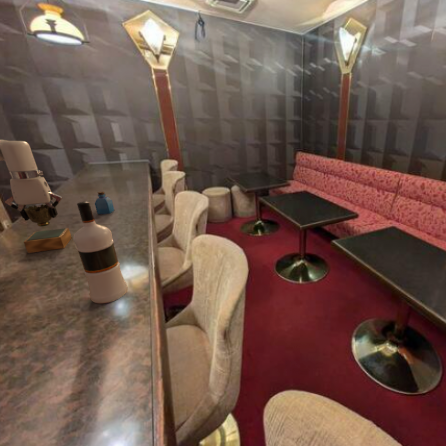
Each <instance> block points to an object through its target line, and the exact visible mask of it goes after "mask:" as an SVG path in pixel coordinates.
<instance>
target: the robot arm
mask: <svg viewBox="0 0 446 446" xmlns="http://www.w3.org/2000/svg"><path fill="white" fill-rule="evenodd" d="M2 161H4V162H5V164H6V167H7V170H8V172H9V175H10V177H11V178H10V179H9V183H10V184H9V185H10V190H11V195H12V196H10V197H9V198H7V199H6V200H5V201H4V203H5V204H6V205H8V206H10V207H11V208H13V209H15V210H17V211H18V212H19V213H20V215H21V218H22V219H24V221H25V222H27V221H29V220H30V219H29V217H28V215H27V214H26V212H25V210H24V209H26V208H27V206H28V205H29V206H30V205H43V204H44V205H48V206H49V207H50V209H49V211H50V214H51V216H52V218H51V219H55V218H56V217H57V216H58V211H57V206H58V205H59V203H60V202H61V201H62V199H63V196H61V195H59V194H56V193H54V192H52V190H51V187H50V186H49V184H48V182H47V181H46V179H45V177H44V175H45V172H44V171H42V170H39V168H38V165H37V163H36V160H35V157H34V154H33V151H32V149H31V145H30V143H28V142H27V141H25V140H6V139H0V162H2ZM54 199H55V201H54V202H53V200H54Z"/></svg>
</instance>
